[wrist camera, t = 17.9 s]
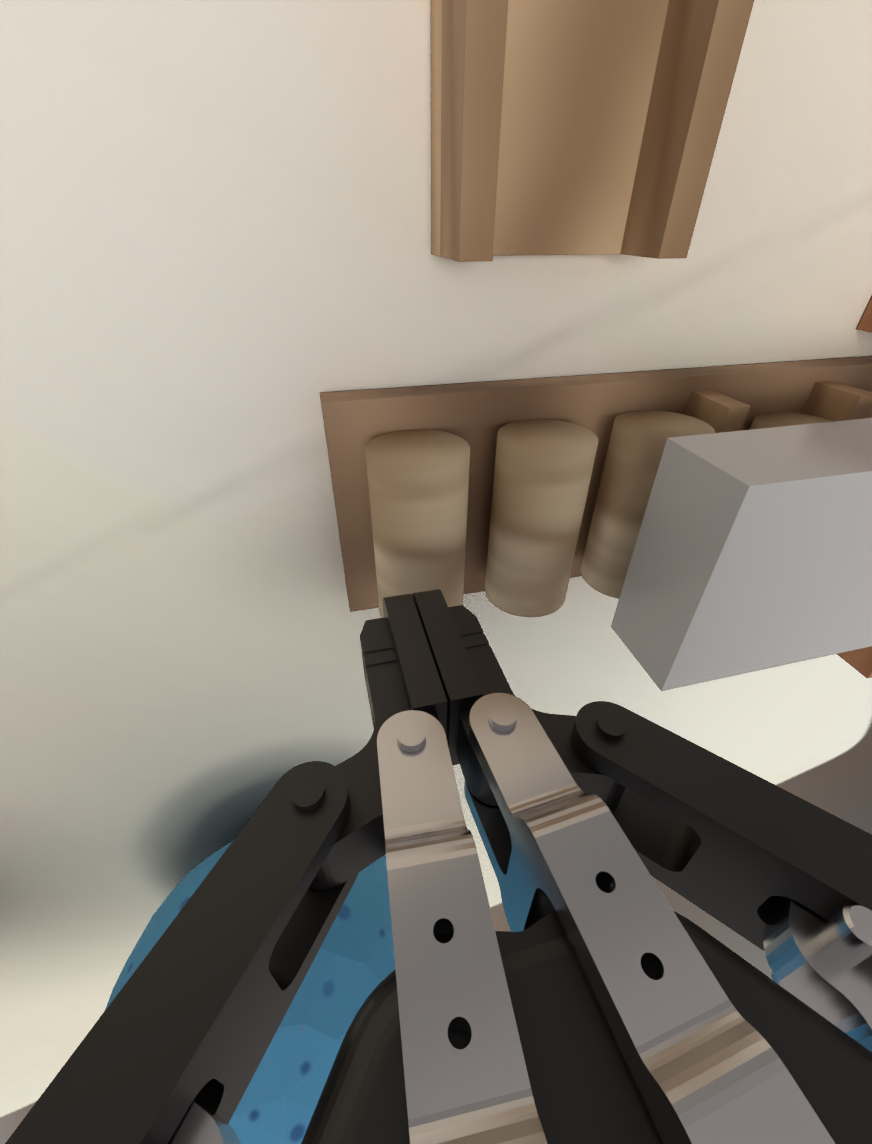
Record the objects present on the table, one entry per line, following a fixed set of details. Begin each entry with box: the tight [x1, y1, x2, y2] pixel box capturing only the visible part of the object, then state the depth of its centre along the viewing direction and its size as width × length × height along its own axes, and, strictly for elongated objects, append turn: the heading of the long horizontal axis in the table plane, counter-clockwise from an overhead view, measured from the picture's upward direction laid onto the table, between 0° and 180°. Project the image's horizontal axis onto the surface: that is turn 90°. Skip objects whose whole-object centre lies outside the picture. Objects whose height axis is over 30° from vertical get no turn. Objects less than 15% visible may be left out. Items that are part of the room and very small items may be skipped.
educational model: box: [105, 840, 395, 1144], centre depth 24 cm, size 16×19×15 cm
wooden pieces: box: [320, 0, 872, 678], centre depth 14 cm, size 23×21×7 cm
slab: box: [611, 418, 872, 691], centre depth 15 cm, size 12×7×3 cm, turn 89°
